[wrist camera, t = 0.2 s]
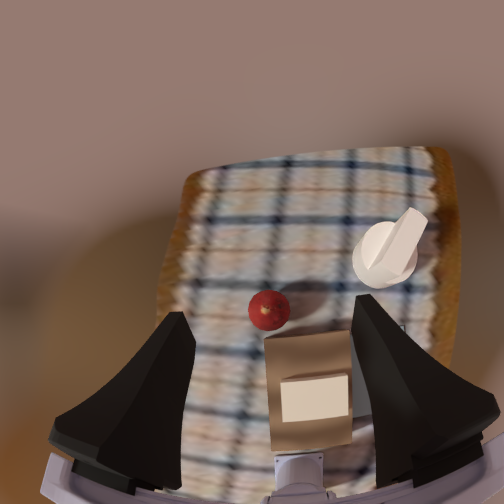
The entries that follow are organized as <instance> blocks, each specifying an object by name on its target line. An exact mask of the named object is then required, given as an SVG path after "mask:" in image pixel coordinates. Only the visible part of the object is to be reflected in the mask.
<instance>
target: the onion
mask: <svg viewBox="0 0 504 504" xmlns="http://www.w3.org/2000/svg"><path fill="white" fill-rule="evenodd" d="M248 312H249V318H250V319H251V321H252V323H253V324H254V325H255V326H256V327H257V328H259V329H261V330H265V331H273V330H277V329H279V328H281V327H282V326H283V325H284V324H285V323H286V322H287V320H288V318H289V314H290V306H289V302H288V301H287V299H286V298H285V296H284V295H282V294H280V293H279V292H277V291H273V290H265V291H261V292H259V293H257V294H256V295H254V296H253V298H252V299H251V301H250V303H249V308H248Z"/></svg>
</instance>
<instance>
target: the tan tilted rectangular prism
mask: <svg viewBox="0 0 504 504" xmlns="http://www.w3.org/2000/svg"><path fill="white" fill-rule="evenodd" d="M280 385H281V401H282V419H283V422H295V421H306V420H316V419H325V418H332V417H339V416H346V415H348V375H347V374H346V373H338V374H331V375H323V376H315V377H305V378H294V379H281V382H280Z"/></svg>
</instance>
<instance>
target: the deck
mask: <svg viewBox="0 0 504 504" xmlns="http://www.w3.org/2000/svg"><path fill="white" fill-rule="evenodd" d="M264 349H265V363H266V377H267V392H268V406H269V421H270V436H271V451H290V450H304V449H314V448H323V447H331V446H338V445H344V444H350V443H352V363H351V344H350V330H346V329H342V330H335V331H327V332H318V333H309V334H300V335H289V336H277V337H266V338H265V339H264ZM338 373H346V374H347V375H348V415H346V416H339V417H332V418H325V419H316V420H306V421H295V422H283V419H282V401H281V385H280V382H281V379H294V378H305V377H315V376H323V375H331V374H338Z"/></svg>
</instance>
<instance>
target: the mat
mask: <svg viewBox="0 0 504 504" xmlns="http://www.w3.org/2000/svg"><path fill="white" fill-rule="evenodd" d="M400 327H401V329H402V330H403V331H404V326H400ZM350 344H351V363H352V418H355V417H360V416H365V415H370V414H372V411H371V404H370V399H369V395H368V391H367V388H366V384H365V381H364V377H363V374H362V371H361V368H360V364H359V361H358V358H357V355H356V351H355V347H354V342H353V336H352V335H350Z"/></svg>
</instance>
